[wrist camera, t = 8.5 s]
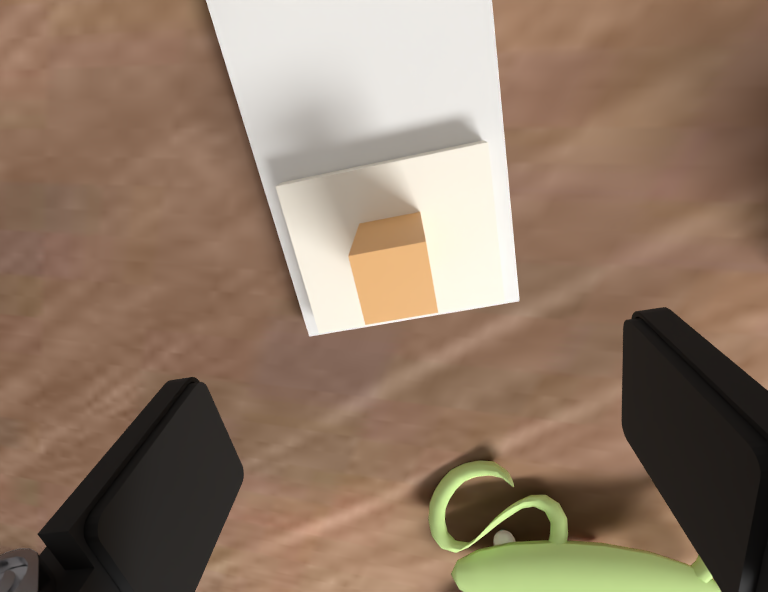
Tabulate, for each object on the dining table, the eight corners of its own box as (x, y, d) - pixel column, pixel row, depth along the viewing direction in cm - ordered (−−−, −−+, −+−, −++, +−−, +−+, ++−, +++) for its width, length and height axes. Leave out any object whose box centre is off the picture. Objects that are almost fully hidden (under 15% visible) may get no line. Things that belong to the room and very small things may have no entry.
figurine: (718, 636, 38) (768, 719, 33) (409, 612, 38) (411, 691, 33) (819, 476, 30) (905, 552, 25) (435, 446, 30) (443, 516, 25)
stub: (483, 140, 21) (514, 153, 15) (500, 293, 24) (531, 352, 18) (281, 182, 22) (240, 209, 16) (322, 323, 25) (299, 387, 19)
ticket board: (435, -528, 14) (442, -651, 12) (514, 292, 25) (525, 311, 23) (94, -399, 15) (41, -487, 13) (313, 326, 27) (304, 347, 24)
